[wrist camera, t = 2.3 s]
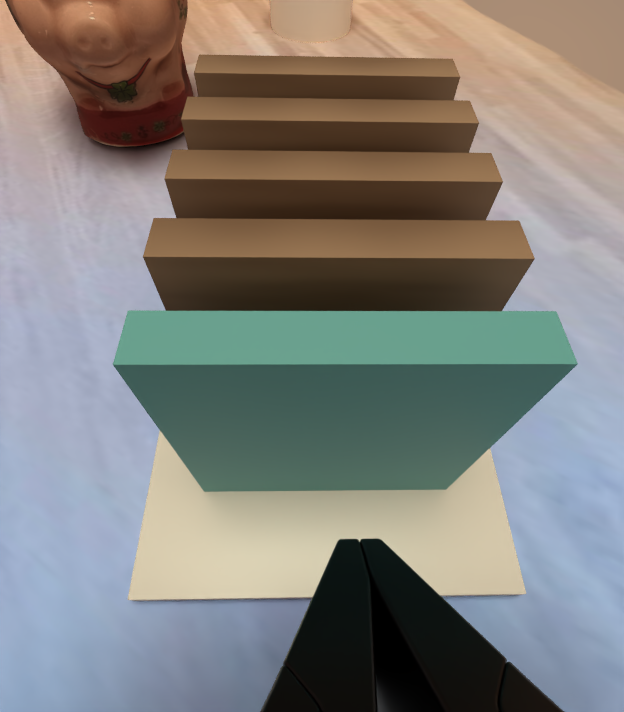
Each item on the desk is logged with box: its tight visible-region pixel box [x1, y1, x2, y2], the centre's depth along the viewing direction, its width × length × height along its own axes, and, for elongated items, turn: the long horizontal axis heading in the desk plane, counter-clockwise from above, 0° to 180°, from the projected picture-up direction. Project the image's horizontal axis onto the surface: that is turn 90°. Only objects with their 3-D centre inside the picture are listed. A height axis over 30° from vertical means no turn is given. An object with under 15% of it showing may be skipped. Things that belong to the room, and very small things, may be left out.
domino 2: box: [181, 97, 479, 153], centre depth 21 cm, size 2×11×11 cm, turn 91°
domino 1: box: [194, 55, 460, 100], centre depth 23 cm, size 2×11×11 cm, turn 91°
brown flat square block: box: [165, 150, 503, 220], centre depth 19 cm, size 2×11×11 cm, turn 91°
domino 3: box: [143, 218, 535, 311], centre depth 17 cm, size 2×11×11 cm, turn 91°
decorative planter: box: [5, 0, 194, 147], centre depth 32 cm, size 20×12×14 cm, turn 22°
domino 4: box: [113, 311, 578, 492], centre depth 15 cm, size 2×11×11 cm, turn 91°
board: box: [128, 431, 526, 601], centre depth 24 cm, size 24×16×1 cm, turn 1°
